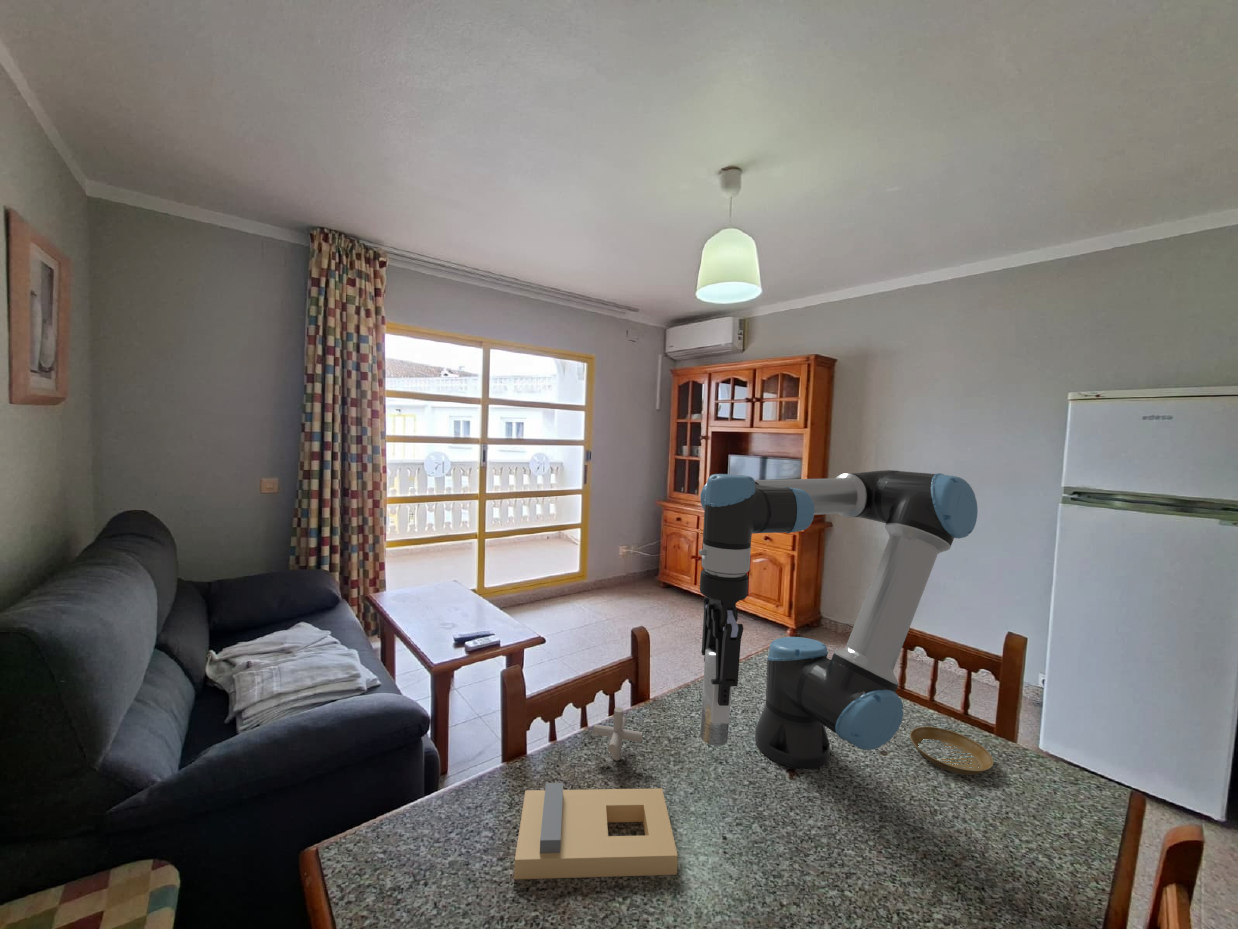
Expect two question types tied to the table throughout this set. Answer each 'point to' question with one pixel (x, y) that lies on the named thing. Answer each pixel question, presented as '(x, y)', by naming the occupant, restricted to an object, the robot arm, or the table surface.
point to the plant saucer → (961, 743)
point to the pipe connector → (617, 733)
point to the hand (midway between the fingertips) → (715, 712)
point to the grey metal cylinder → (711, 731)
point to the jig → (593, 834)
